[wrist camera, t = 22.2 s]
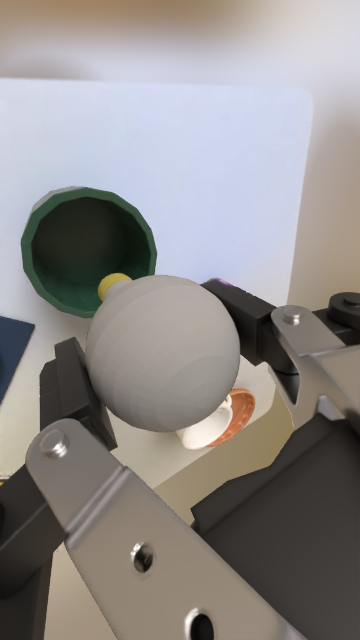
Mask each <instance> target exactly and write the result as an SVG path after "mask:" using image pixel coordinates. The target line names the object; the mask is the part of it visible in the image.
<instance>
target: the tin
mask: <svg viewBox="0 0 360 640" xmlns="http://www.w3.org/2000/svg"><path fill="white" fill-rule="evenodd" d="M21 250H22V259H23V269H24V272H25V273H26V275H27V277H28V278H29V280H30V282H31V283H32V285H33V287H34V288H35V290H36V292H37V293H38V294H39V295H40V296H41V297H42V298H44V299H45V300H46V301H48V302H49V303H50V304H52V305H53V306H54V307H56V308H57V309H58V310H60V311H62V312H66V313H69V314H72V315H76V316H79V317H82V318H93V317H94V315H95V313H96V312H97V310H98V308H99V307H100V306H101V305H102V303H103V302H102V301H101V299H100V297H99V295H98V287H99V284H100V282H101V281H102V280H103V279H104V278H105V277H106V276H108V275H110V274H114V273H121V274H124V275H126V276H128V277H129V278H131V279H132V280H136V279H139V278H142V277H146V276H152V275H154V274H155V266H156V259H157V250H156V246H155V242H154V238H153V234H152V230H151V228H150V227H149V225H148V224H147V222H146V221H145V219H144V218H143V217H142V215H141V214H140V212H139V211H138V209H137V208H135V207H134V206H132V205H131V204H130V203H128V202H127V201H125V200H124V199H122V198H121V197H119V196H118V195H116V194H115V193H112V192H107V191H103V190H98V189H93V188H88V187H75V186H73V187H72V186H71V187H67V188H62V189H58V190H54V191H51V192H49V193H48V194H47V195H45V196H44V197H43V198H42V199H41V200H39V201H38V202H37V203H36V204H35V205H34V206H33V208H32V211H31V213H30V216H29V218H28V221H27V223H26V226H25V229H24V232H23V235H22V238H21Z"/></svg>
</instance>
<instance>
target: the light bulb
mask: <svg viewBox="0 0 360 640" xmlns="http://www.w3.org/2000/svg"><path fill="white" fill-rule="evenodd" d="M98 295H99V297H100V299H101V301H102V302H103V303H102V305H101V306H100V307H99V308H98V310H97V312H96V313H95V315H94V317H93V319H92V321H91V323H90V326H89V329H88V333H87V340H86V348H85V363H86V368H87V372H88V375H89V378H90V381H91V384H92V387H93V389H94V392H95V393H96V395H97V397H98V398H99V399H100V401H101V402H102V403H103V404H104V405H105V406H106V407H107V408H108V409H109V410H110V411H111V412H112V413H113V414H114V415H115V416H117V417H118V418H120V419H121V420H123V421H124V422H126V423H128V424H129V425H131V426H133V427H136V428H140V429H144V430H149V431H154V432H170V431H177V430H181V429H184V428H187V427H190V426H192V425H195V424H197V423H199V422H201V421H202V420H204V419H205V418H207V417H208V416H210V415H211V414H212V413H213V412H214V411H215V410H217V408H218V407H219V406H220V405H221V404H222V403H223V402H224V400H225V399H226V397H227V396H228V394H229V392H230V391H231V389H232V387H233V385H234V383H235V380H236V377H237V374H238V370H239V365H240V342H239V337H238V333H237V330H236V327H235V324H234V322H233V320H232V318H231V316H230V315H229V313H228V311H227V310H226V308H225V307H224V305H223V304H222V302H221V301H220V300H219V299H218V298H217V297H216V296H215V295H213V294H212V293H211V292H209V291H208V290H206V289H205V288H203V287H202V286H200V285H199V284H197V283H195V282H193V281H191V280H188V279H184V278H180V277H174V276H168V275H152V276H146V277H142V278H139V279H136V280H132V279H131V278H129V277H128V276H126V275H124V274H121V273H114V274H110V275H108V276H106V277H105V278H104V279H103V280H102V281H101V282H100V284H99V287H98Z"/></svg>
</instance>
